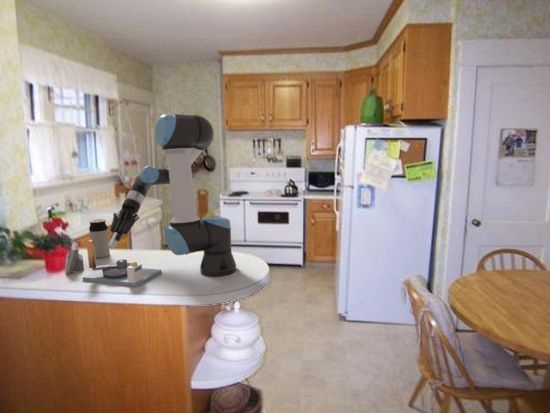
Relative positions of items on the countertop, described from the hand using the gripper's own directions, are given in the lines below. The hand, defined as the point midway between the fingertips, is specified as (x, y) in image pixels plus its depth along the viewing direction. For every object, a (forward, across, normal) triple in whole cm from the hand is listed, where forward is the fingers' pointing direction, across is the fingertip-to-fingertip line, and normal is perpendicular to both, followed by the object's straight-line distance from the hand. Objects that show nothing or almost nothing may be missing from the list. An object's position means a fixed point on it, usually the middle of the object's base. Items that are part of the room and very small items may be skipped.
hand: (111, 246), depth 164 cm
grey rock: (+10, +19, -5) cm, 22 cm away
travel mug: (-4, +21, -18) cm, 28 cm away
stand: (+12, -10, -3) cm, 16 cm away
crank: (+12, -7, 0) cm, 14 cm away
